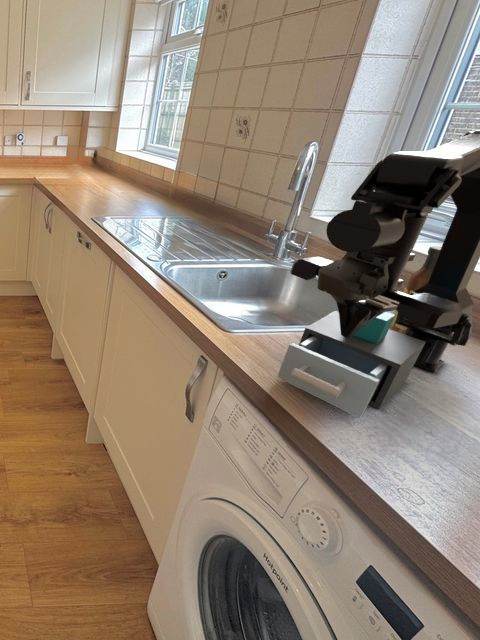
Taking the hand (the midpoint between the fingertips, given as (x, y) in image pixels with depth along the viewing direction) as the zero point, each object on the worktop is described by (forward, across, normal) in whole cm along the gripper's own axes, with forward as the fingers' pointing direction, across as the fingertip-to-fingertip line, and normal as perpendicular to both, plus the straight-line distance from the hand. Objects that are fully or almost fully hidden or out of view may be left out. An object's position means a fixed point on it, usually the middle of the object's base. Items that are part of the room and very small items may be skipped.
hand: (345, 336), depth 65 cm
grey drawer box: (+12, -3, +11) cm, 17 cm away
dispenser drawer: (+11, 0, +1) cm, 11 cm away
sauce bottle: (+12, -10, +41) cm, 44 cm away
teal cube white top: (+3, -3, +11) cm, 12 cm away
